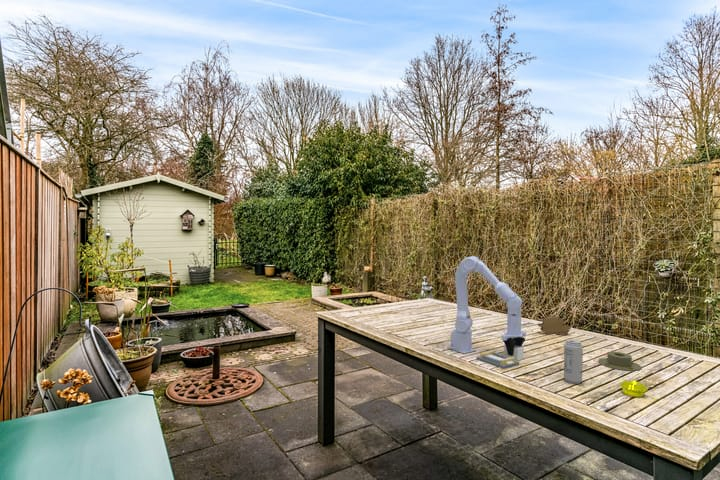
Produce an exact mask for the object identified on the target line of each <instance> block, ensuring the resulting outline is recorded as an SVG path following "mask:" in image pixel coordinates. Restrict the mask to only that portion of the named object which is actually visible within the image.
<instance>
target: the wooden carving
mask: <svg viewBox="0 0 720 480" xmlns="http://www.w3.org/2000/svg"><path fill="white" fill-rule="evenodd" d="M541 319H542V320H541V321H542V323H539V322H538V323H537V326H538V328H539V327H540V328H539V329H540V331H541V332H543V333H545V334H547V335H550V334H558V335H562V334H563V335H568V334H569V331H570V330H571V329H572V328H571V326H570V325H568V324H565V321H564V319H563V318H562V317H561V318H559V317H558V316H554V315H553V316H552V315H550V316H546V317H543V318H541Z"/></svg>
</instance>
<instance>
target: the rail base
mask: <svg viewBox="0 0 720 480" xmlns="http://www.w3.org/2000/svg"><path fill="white" fill-rule="evenodd" d="M476 360H477V361H480V362H482V361H483V362H484V363H485V364H489V365H490V366H494V367H497V368H499V367H500V368H499V369H503V370H505V369H508V368H512V367H516V366H519V365H520V362H519V361H518V360H515V357H507V356H504V354H502V353H501V354H500V353H497V352H496V351H495V350H488V351H484V352H480V355H479V356H476ZM483 362H482V363H483Z"/></svg>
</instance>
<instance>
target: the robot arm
mask: <svg viewBox="0 0 720 480" xmlns="http://www.w3.org/2000/svg"><path fill="white" fill-rule="evenodd" d="M473 271H474V273H478V274H481V276H483V277H484V278H485V279H486V280H487V281H488V282H489V283H490V284H491V285H492V286H493V288H494V290H493V291H494V293H496V295H498V296H499V298H501V300H502V301H503V302H504V303H506V307H507V314H506V315H507V317H506V318H507V321H506V322H507V323H506V329H507V330H506V332H505V333H503V334H502V335H500V336H501V339H500V340H502V342H503V343H504V345H506V348H507V352H508V355H511V356H513V353H514V346H515V345H517V346H520V347H523V344H524V342H525V341H526V338H525V337H527V331H526V330H525V331H524V330H522V304H523V301H522V298H521V296H519V295H517V292H514V291H513V290H512V289H511V288H510V285H509V284H508V283H505V282H504V281H500V280H499V279H498V278H497V277H496V275H495V274H494V273H493V272H492V270H490V268H488V267H487V265H486V264H485V263H484V262H483V261H482V260H480V258H479V257H477V256H474V255H471V256H468V257H465V258H463V259H462V260H461V261H460V262H459V265H458V266H457V269H456V270H455V273H454V279H455V281H454V282H455V293H456V294H455V295H456V308H457V312H456V315H455V316H456V320H455V321H454V327H455V329H453V330H451V333H450V347H448V348H449V350H452V351H454V352H455V351H456V352H458V353H461V354H467V353H472V352H476V349H474V348H472V347H473V346H472V343H473V342H472V340H473V338H472V337H473V336H472V333H473V331H472V329H471V327H473V318H471V312H470V309H469V298H468V297H469V296H468V282H467V276H469V275H470V274H471V272H473Z"/></svg>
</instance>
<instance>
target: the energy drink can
mask: <svg viewBox="0 0 720 480" xmlns="http://www.w3.org/2000/svg"><path fill="white" fill-rule="evenodd" d="M563 346H564V347H563V379H564V380H565V381H566V382H567V383H569V384H574V385H580V384H581V382H583V359H584V358H583V351H584V349H583V348H584V347H583V345H582V342H581V341H580V340H578V339H571V338H569V339H566V340H565V342H564V344H563Z"/></svg>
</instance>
